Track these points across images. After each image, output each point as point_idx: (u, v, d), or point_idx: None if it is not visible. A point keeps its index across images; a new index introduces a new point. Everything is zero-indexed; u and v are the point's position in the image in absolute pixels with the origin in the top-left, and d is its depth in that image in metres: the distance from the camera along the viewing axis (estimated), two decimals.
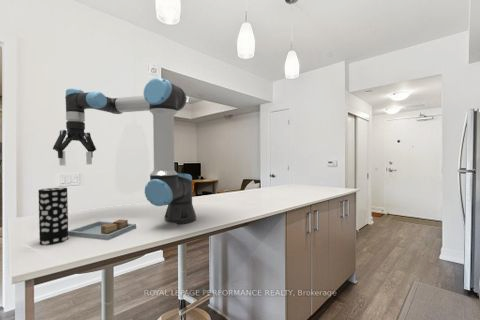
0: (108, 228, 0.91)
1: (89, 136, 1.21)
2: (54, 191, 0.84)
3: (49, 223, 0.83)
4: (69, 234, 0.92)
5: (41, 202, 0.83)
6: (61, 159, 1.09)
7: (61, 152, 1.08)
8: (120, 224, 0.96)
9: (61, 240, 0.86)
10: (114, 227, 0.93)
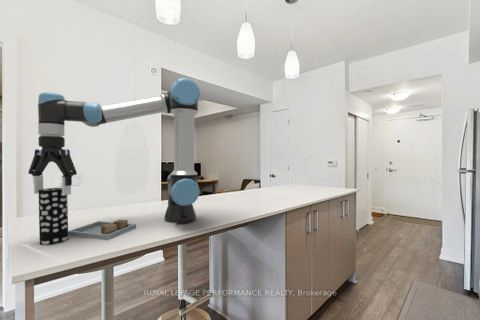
0: (108, 228, 0.91)
1: (62, 154, 0.84)
2: (54, 191, 0.84)
3: (49, 223, 0.83)
4: (69, 234, 0.92)
5: (41, 202, 0.83)
6: None
7: None
8: (120, 224, 0.96)
9: (61, 240, 0.86)
10: (114, 227, 0.93)
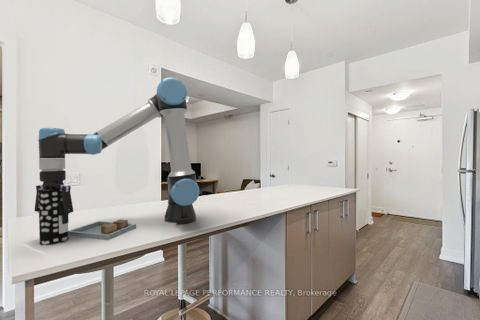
0: (108, 228, 0.91)
1: (62, 191, 0.84)
2: (54, 191, 0.84)
3: (49, 223, 0.83)
4: (69, 234, 0.92)
5: (41, 202, 0.83)
6: None
7: None
8: (120, 224, 0.96)
9: (61, 240, 0.86)
10: (114, 227, 0.93)
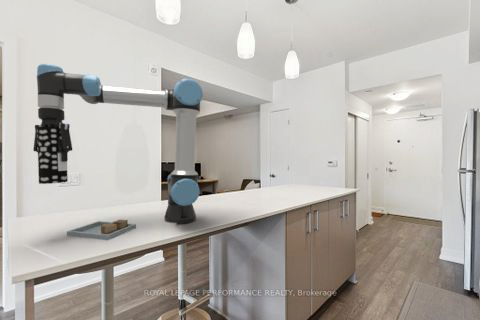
0: (108, 228, 0.91)
1: (61, 128, 0.84)
2: (53, 128, 0.83)
3: (48, 159, 0.83)
4: (69, 234, 0.92)
5: (39, 139, 0.83)
6: None
7: None
8: (120, 224, 0.96)
9: (60, 178, 0.85)
10: (114, 227, 0.93)
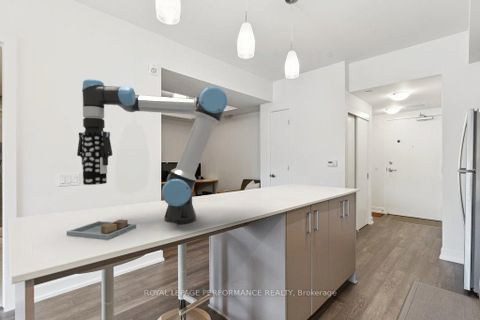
0: (108, 228, 0.91)
1: (103, 136, 0.95)
2: (96, 135, 0.94)
3: (92, 163, 0.94)
4: (69, 234, 0.92)
5: (85, 145, 0.94)
6: None
7: (82, 158, 0.98)
8: (120, 224, 0.96)
9: (102, 180, 0.96)
10: (114, 227, 0.93)
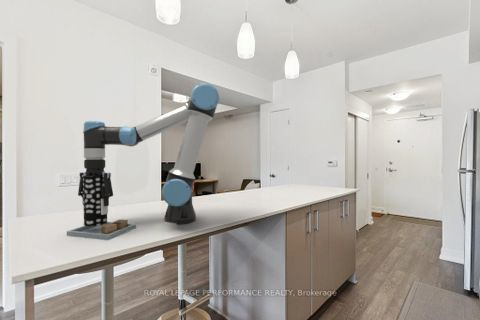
0: (108, 228, 0.91)
1: (104, 177, 0.95)
2: (97, 177, 0.95)
3: (93, 205, 0.94)
4: (69, 234, 0.92)
5: (86, 187, 0.94)
6: None
7: None
8: (120, 224, 0.96)
9: (102, 221, 0.97)
10: (114, 227, 0.93)
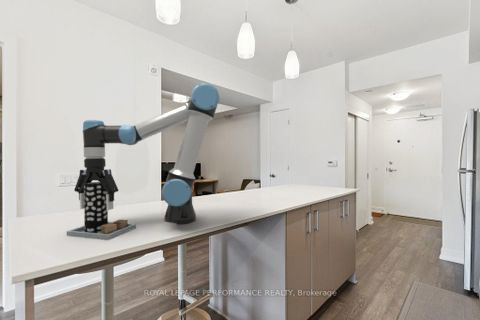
0: (108, 228, 0.91)
1: (105, 174, 0.95)
2: (98, 184, 0.95)
3: (94, 212, 0.94)
4: (69, 234, 0.92)
5: (87, 194, 0.94)
6: None
7: None
8: (120, 224, 0.96)
9: None
10: (114, 227, 0.93)
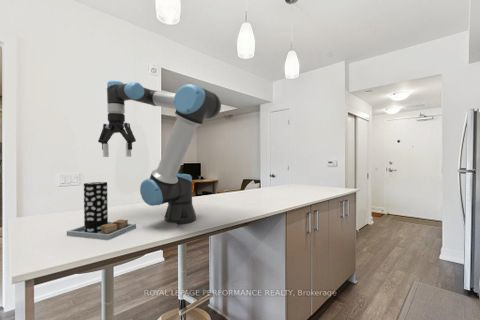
0: (108, 228, 0.91)
1: (125, 126, 1.13)
2: (98, 185, 0.95)
3: (93, 212, 0.94)
4: (69, 234, 0.92)
5: (86, 195, 0.94)
6: None
7: (103, 144, 1.18)
8: (120, 224, 0.96)
9: None
10: (114, 227, 0.93)
